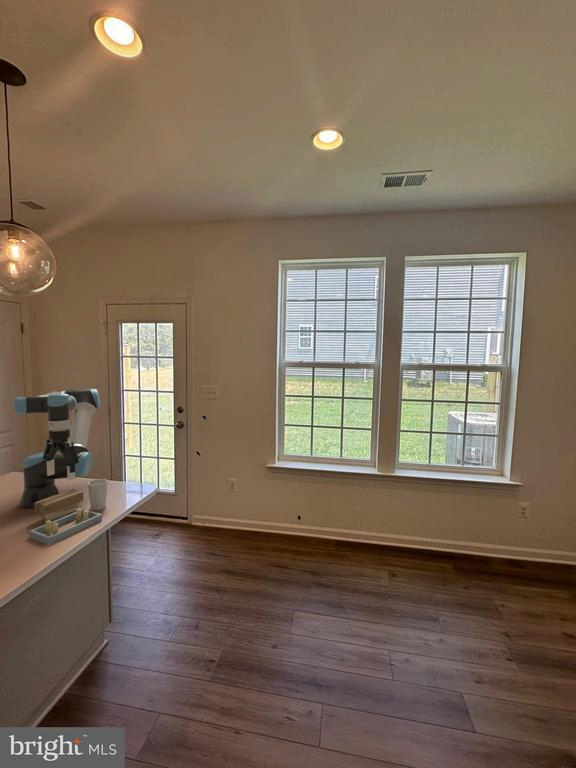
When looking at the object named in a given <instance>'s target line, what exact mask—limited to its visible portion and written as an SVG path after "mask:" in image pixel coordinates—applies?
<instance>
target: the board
mask: <svg viewBox="0 0 576 768" xmlns="http://www.w3.org/2000/svg"><path fill="white" fill-rule="evenodd" d="M82 501H84V492H83V491H81V490H78V489H74V488H72V489H69V490H67V491H64V492H61V493H60V492H59V494H57V495H54V496H52V497H49V498H46V499H43V500H40V501H37V502H35V508H34V512H36V513H38V514H41V515H42V514H44V515H46V514H49V513H51V512H54V511H56V510H59V509H62V508H64V507H67V506H70V505H72V504H75V503H77V504H78V503H80V502H82Z"/></svg>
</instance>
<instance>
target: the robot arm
mask: <svg viewBox="0 0 576 768" xmlns="http://www.w3.org/2000/svg"><path fill="white" fill-rule="evenodd" d="M100 399H101V398H100V394H99V390H98V389H96V388H66V389H65V388H64V389H59V390H55V391H51V392H47V393H46V394H41V395H33V396H18V397H16V398H15V399H14V401H13V402H14V403H13V410H14V412H15V413H16V414H18V415H21V414H23V415H29V414H47V418H48V419H47V420H48V424H47V426H48V430H49V431H48V439H46V443H45V444H46V445H45V449H44V451H41V452H37V453H35V454H31V455H29V456H27V457H25V458H24V459H23V467H22V469H23V470H22V471H23V487H24V489H23V491H22V494H21V496H20V501H19V507H21V508H22V509H35V502H37V501H40V500H43V499H46V498H49V497H52V496H54V495H57V494H60V491H59V490H58V487H57V485H56V480H61V479H62V480H63V479H67V482H69V481H72V480H75V479H76V478H78V477H79V478H81V477H85V476H86V475H88V473H89V472H90V470H91V466H92V460H93V455H92V453H91V452H90V450H89V448H87V445H88V440H89V434H90V430H91V429H90V428H91V424H92V423H91V422H92V416H93V415H94V414H95V413H96V411H97V410H98V409H100V408H101V401H100ZM70 412H72V413H73V415H72V416H73V417H72V419H71V420H72V421H71V422H70ZM70 423H71V424H70ZM57 452H60V453H58V454H57Z"/></svg>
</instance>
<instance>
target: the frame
mask: <svg viewBox="0 0 576 768" xmlns="http://www.w3.org/2000/svg"><path fill="white" fill-rule="evenodd" d="M82 519H83V521H82ZM74 520H76V522H78V523H77V524H75V525H73V526H70V527H68V528H66V529H63V530H60V531H59V527H60V526H62V525H65V524H67V523H69V522H72V521H74ZM101 521H103V514H101V513H99V512H95V511H93V510H89V509H85V508H82V507H79V508H78V507H77V509H76V510H75V511H74V512H71V514H70V513H69V514H66V515H64V516H61V517H59V518H57V519H54V520H53V521H52V520H51V521H50V520H49V521H46V520H45V521H44V523H45V524H43V525H40V526H38V527H36V528H33V529H31V530H29V531H28V533H29V538H31V539H33V540H36V541H39V542H40V543H43V544H46V545H48V546H50V545H52V544H53V543H56V542H58V541H60V540H62V539H65V538H67V537H69V536H71V535H73V534H75V533H77V532H79V531H82V530H84V529H86V528H88V527H90V526H92V525H94V524H97V523H99V522H101ZM44 533H45V534H44ZM51 534H52V535H51Z"/></svg>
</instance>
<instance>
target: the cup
mask: <svg viewBox="0 0 576 768" xmlns="http://www.w3.org/2000/svg"><path fill="white" fill-rule="evenodd" d="M87 488H88V498H89V504H90V505H89V508H90V511H99V510H103V509H105V508H106V507H107V494H108V493H107V492H108V479H106V478H97V479H92V480H90V481H88V482H87Z"/></svg>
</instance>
